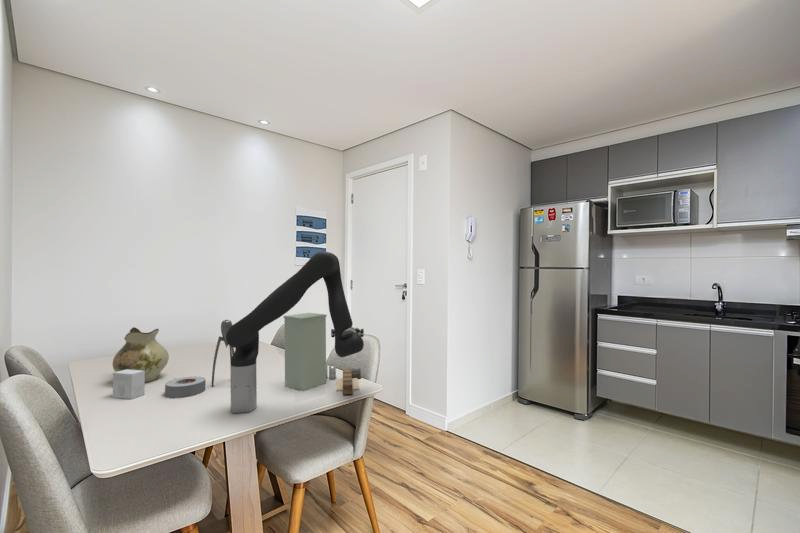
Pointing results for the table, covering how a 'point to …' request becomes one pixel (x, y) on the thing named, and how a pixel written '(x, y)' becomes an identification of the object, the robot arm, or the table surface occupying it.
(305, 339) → the tall sage green pillar
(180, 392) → the tape roll
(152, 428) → the table surface
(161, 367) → the green ceramic vase
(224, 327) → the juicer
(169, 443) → the table surface
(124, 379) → the skincare box
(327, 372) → the spacer
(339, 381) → the mat
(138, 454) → the table surface
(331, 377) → the cylinder
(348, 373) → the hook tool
